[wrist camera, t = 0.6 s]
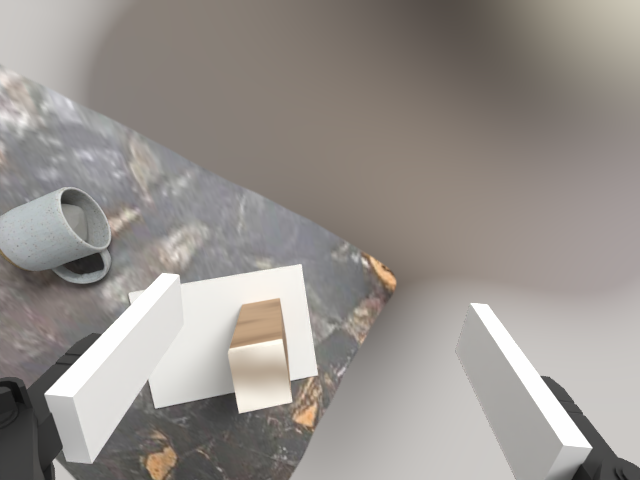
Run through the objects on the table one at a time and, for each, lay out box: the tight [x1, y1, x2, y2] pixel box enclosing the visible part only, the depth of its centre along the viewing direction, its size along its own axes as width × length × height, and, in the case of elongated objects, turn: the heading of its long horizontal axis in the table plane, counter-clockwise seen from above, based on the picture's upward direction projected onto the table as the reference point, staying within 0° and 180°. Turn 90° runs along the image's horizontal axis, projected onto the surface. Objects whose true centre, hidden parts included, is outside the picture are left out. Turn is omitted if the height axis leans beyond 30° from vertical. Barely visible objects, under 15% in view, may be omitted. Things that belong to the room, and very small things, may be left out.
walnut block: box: [228, 298, 292, 413], centre depth 38 cm, size 6×5×14 cm
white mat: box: [128, 264, 318, 409], centre depth 44 cm, size 16×22×1 cm
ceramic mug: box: [0, 187, 111, 284], centre depth 37 cm, size 11×8×8 cm
